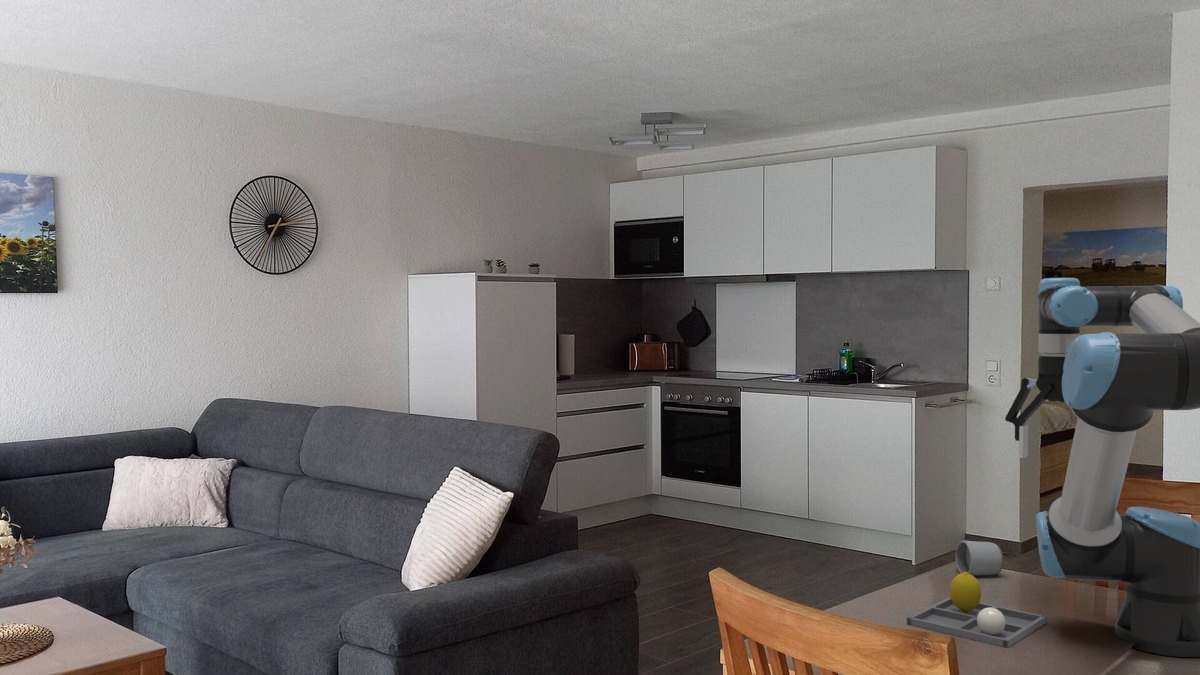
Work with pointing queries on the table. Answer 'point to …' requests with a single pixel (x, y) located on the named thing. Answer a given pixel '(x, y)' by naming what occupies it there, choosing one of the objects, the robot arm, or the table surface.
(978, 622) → the cream egg
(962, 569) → the ceramic mug
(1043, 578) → the table surface
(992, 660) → the table surface
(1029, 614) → the compartment tray
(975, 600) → the lemon
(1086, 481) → the robot arm
